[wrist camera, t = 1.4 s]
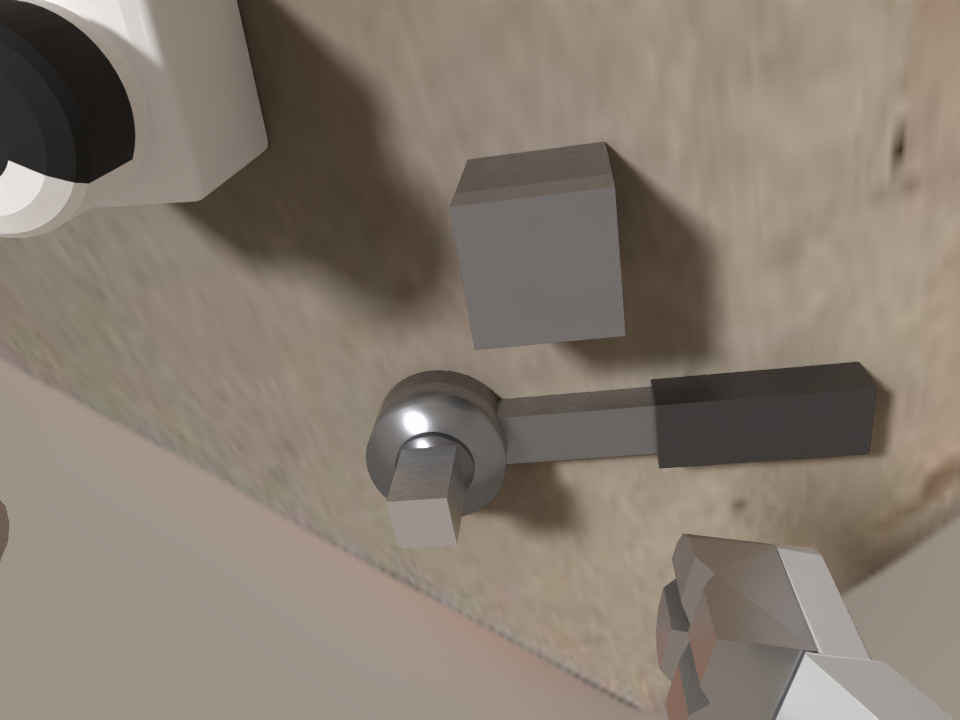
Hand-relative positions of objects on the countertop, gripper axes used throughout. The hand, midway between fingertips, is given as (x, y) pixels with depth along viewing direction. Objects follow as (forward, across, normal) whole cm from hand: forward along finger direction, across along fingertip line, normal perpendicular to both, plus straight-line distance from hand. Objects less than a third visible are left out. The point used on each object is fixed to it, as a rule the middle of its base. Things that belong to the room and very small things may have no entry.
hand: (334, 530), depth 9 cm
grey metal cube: (+24, -3, +4) cm, 25 cm away
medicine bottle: (+25, +12, -1) cm, 28 cm away
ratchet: (+24, -8, +13) cm, 28 cm away
